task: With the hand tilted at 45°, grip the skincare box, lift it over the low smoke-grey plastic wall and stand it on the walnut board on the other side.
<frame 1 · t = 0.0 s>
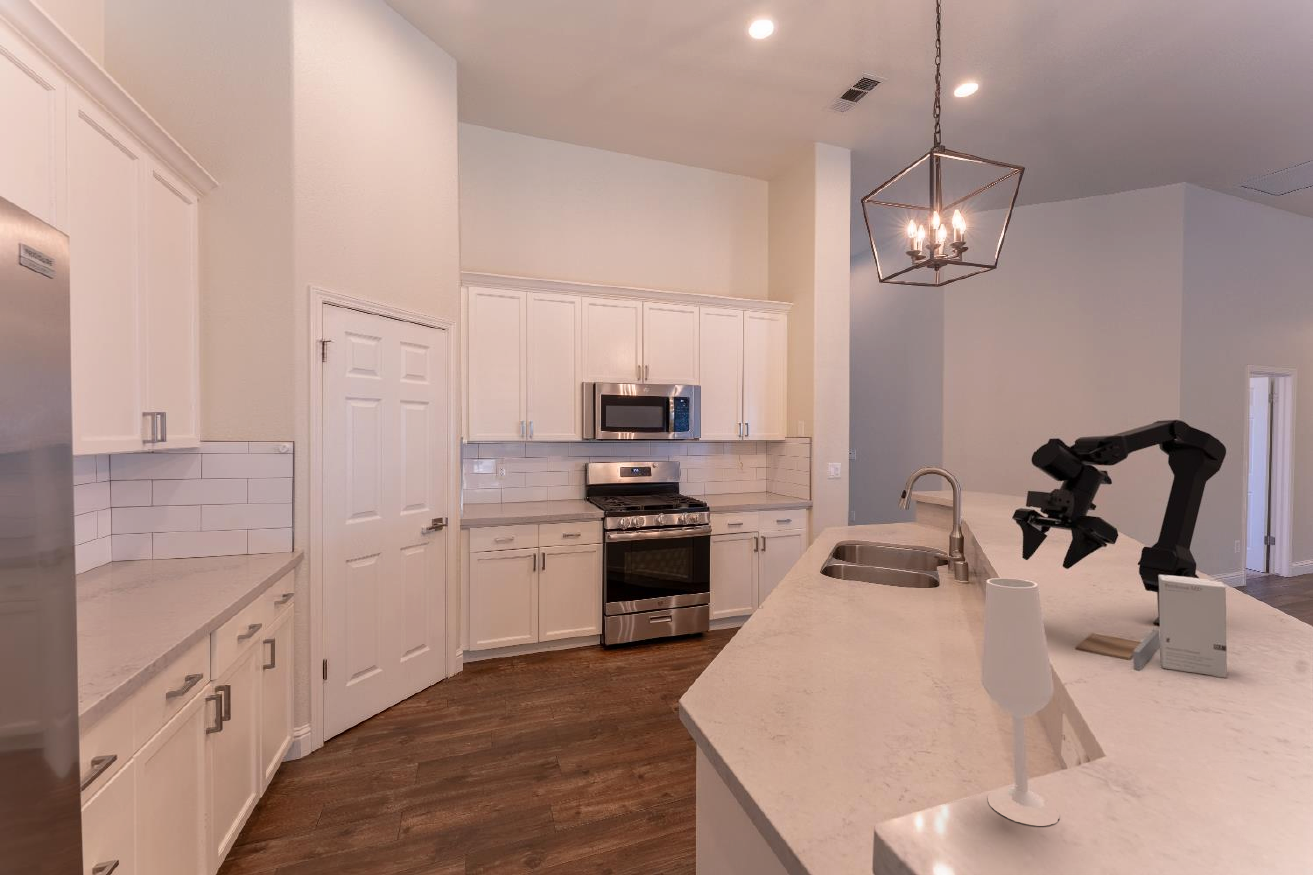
hand: (1044, 563, 114), 15 cm above the countertop, tool tilted 35°, fingers open, 9 cm apart
champagne flute: (1022, 808, 63), on the countertop
skincare box: (1193, 669, 98), on the countertop
low wall: (1147, 657, 104), on the countertop
walnut board: (1109, 646, 109), on the countertop
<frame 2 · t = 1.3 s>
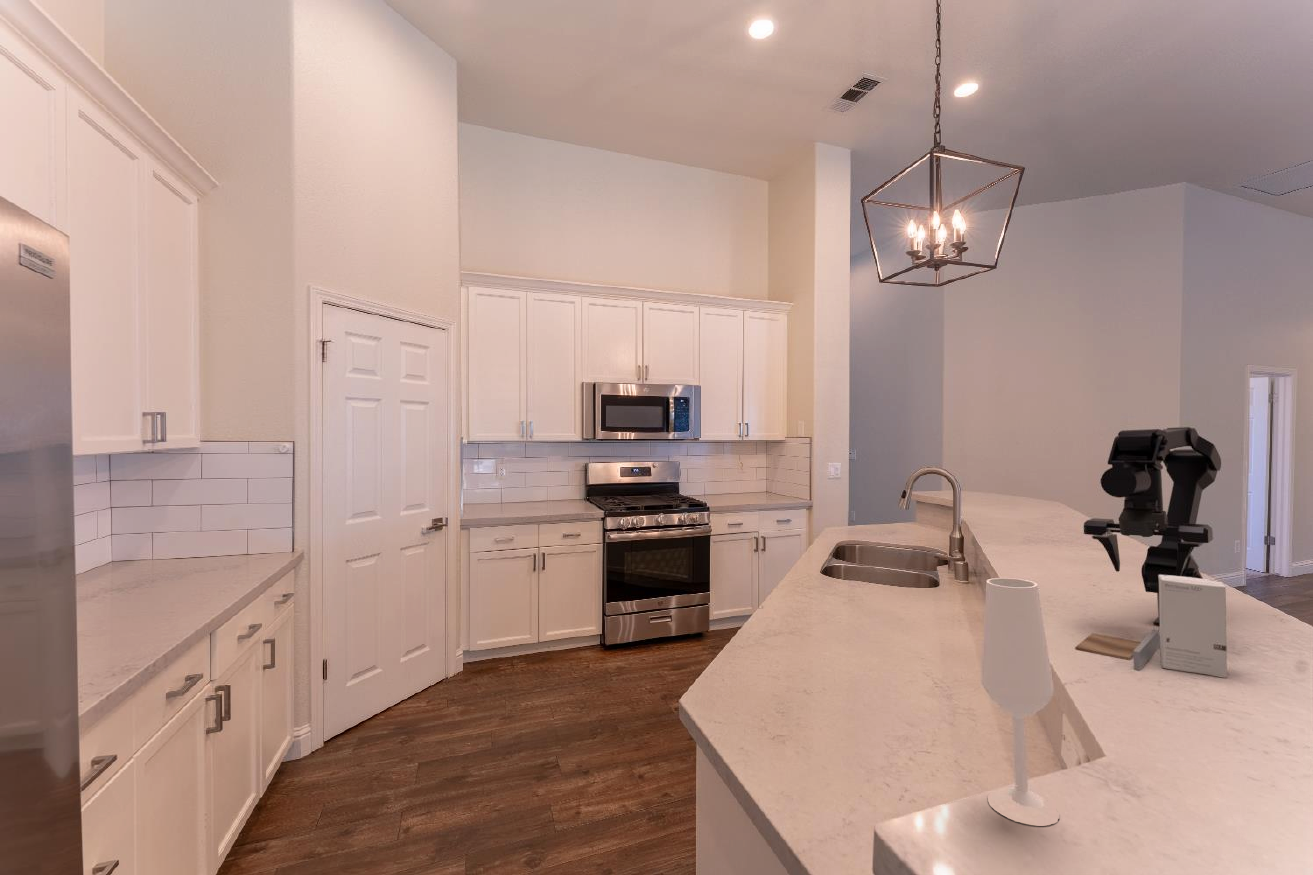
hand: (1147, 574, 114), 12 cm above the countertop, tool pointing down, fingers open, 9 cm apart
nothing on the countertop moved.
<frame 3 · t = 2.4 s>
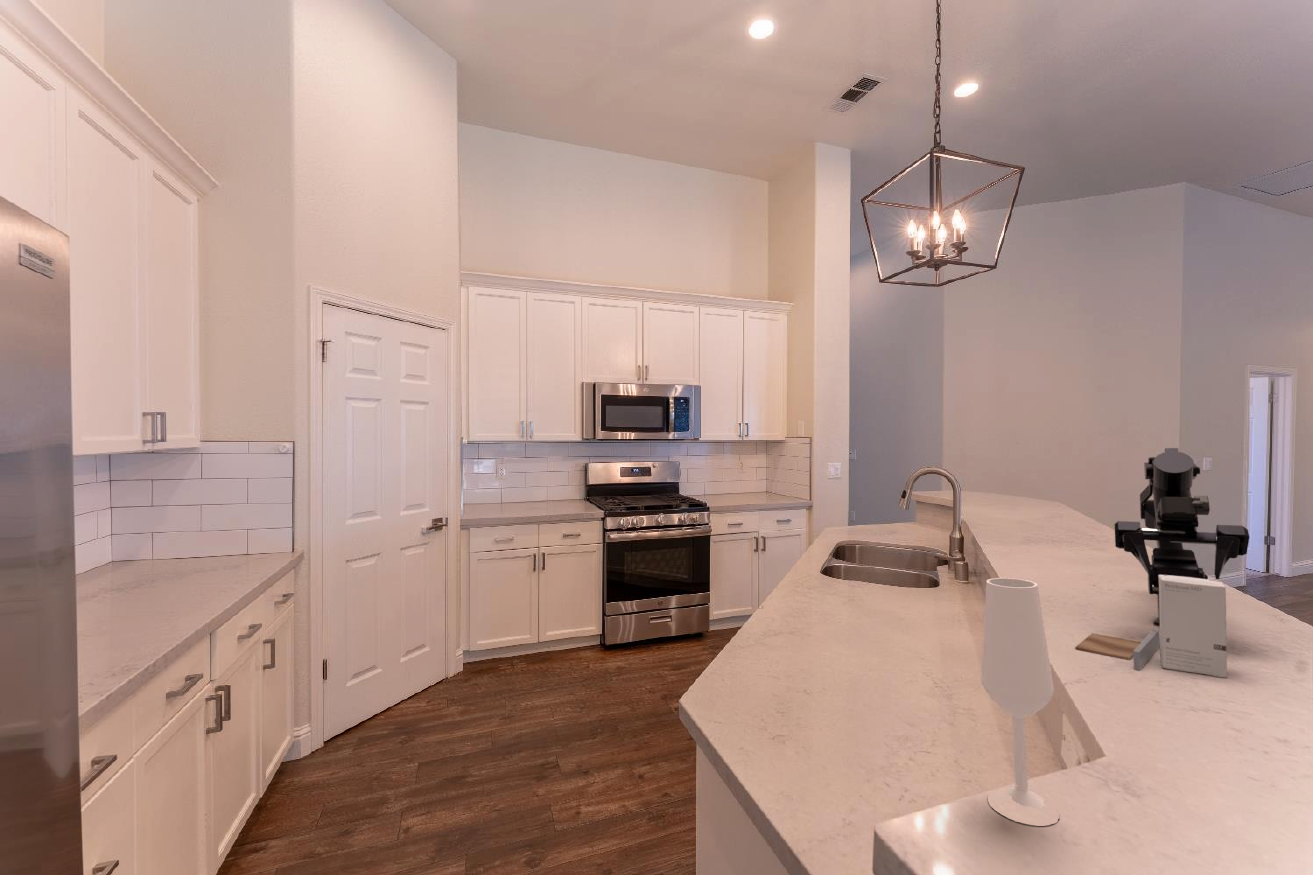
hand: (1182, 575, 106), 14 cm above the countertop, tool tilted 45°, fingers open, 9 cm apart
nothing on the countertop moved.
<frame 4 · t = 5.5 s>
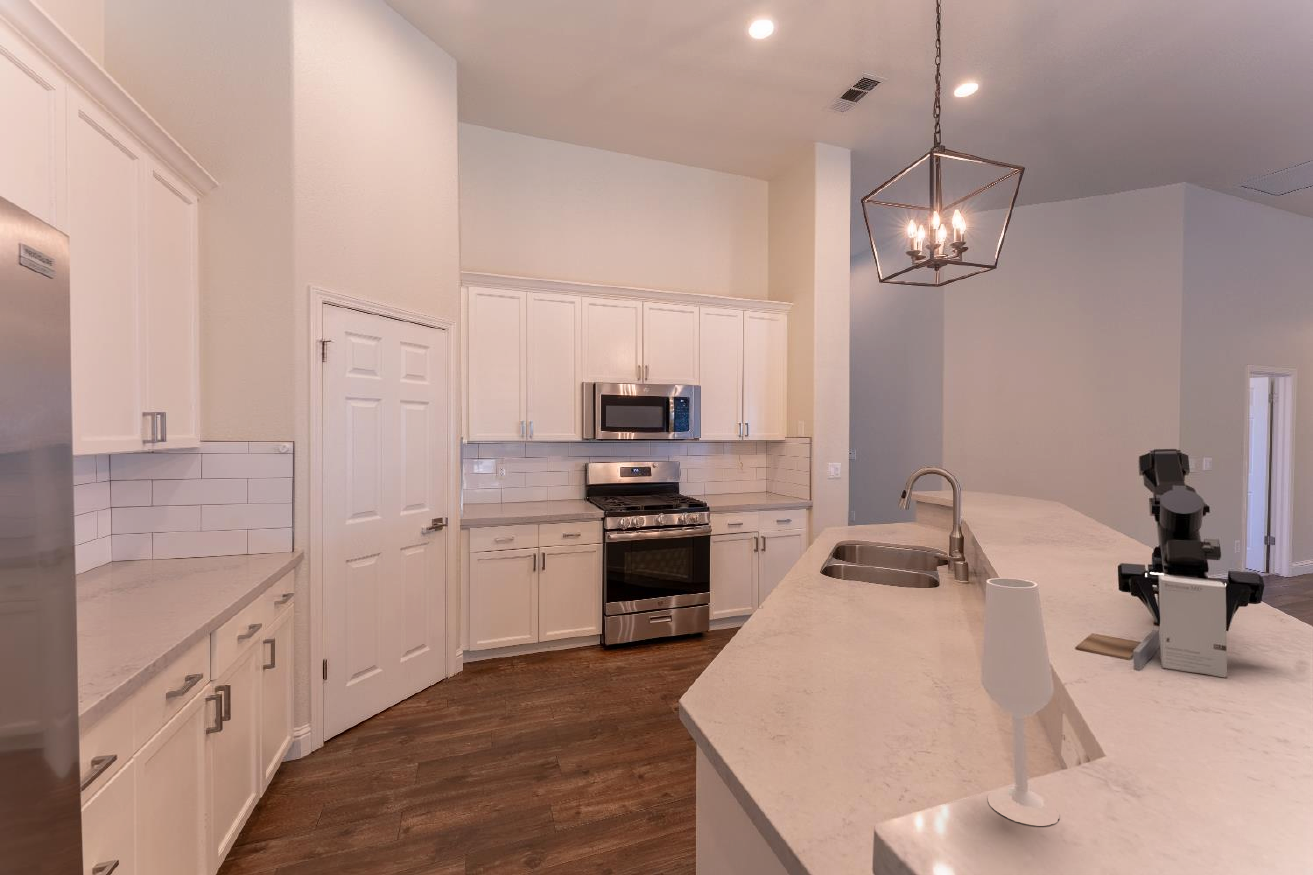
hand: (1191, 625, 98), 7 cm above the countertop, tool tilted 45°, fingers closed on skincare box, 8 cm apart
skincare box: (1193, 669, 98), on the countertop, touching gripper
everything else where it was.
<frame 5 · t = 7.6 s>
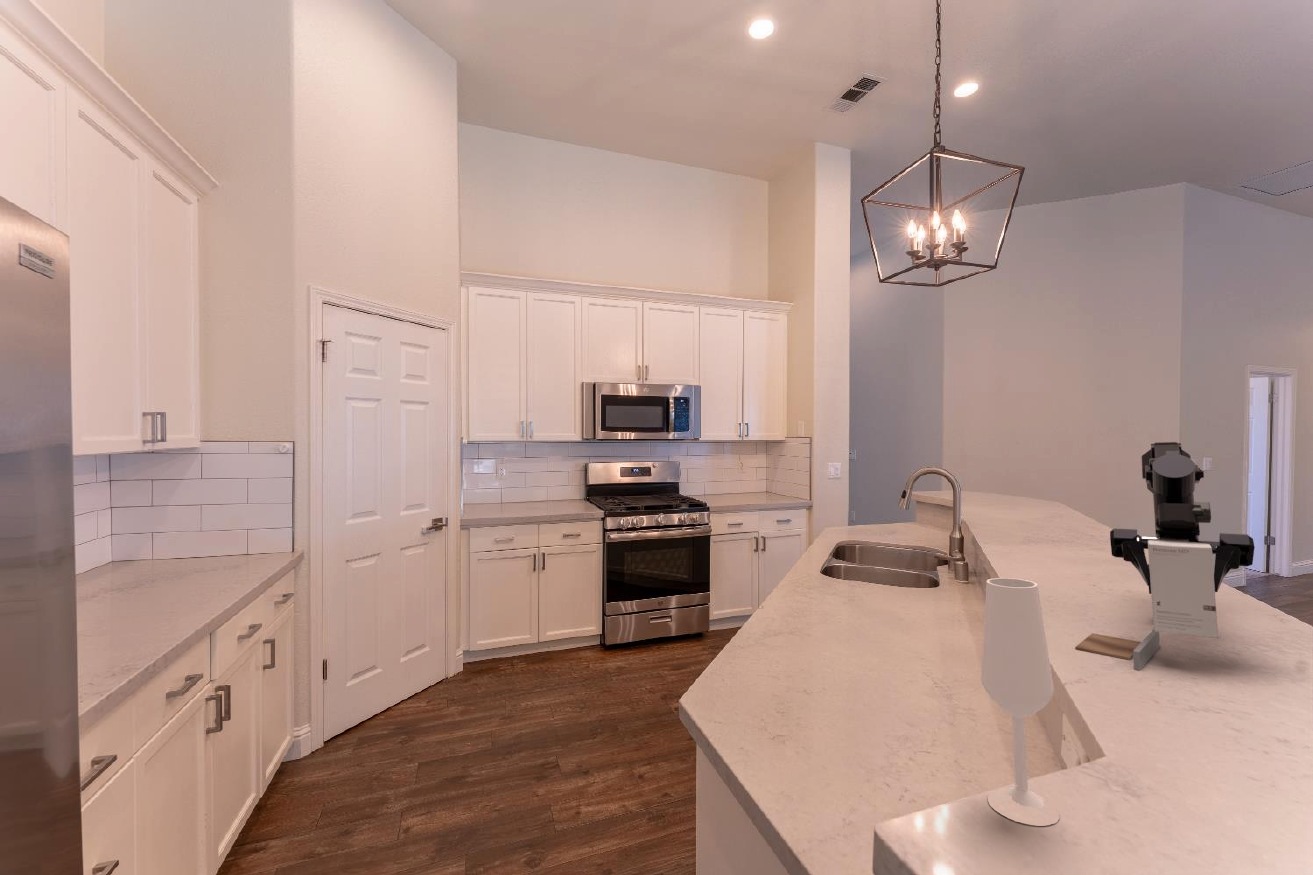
hand: (1181, 587, 99), 13 cm above the countertop, tool tilted 45°, fingers closed on skincare box, 8 cm apart
skincare box: (1186, 632, 99), point 6 cm above the countertop, touching gripper
everything else where it was.
when the fingers open (8 cm above the countertop, at t = 10.4 s): skincare box stays where it is, resting on walnut board.
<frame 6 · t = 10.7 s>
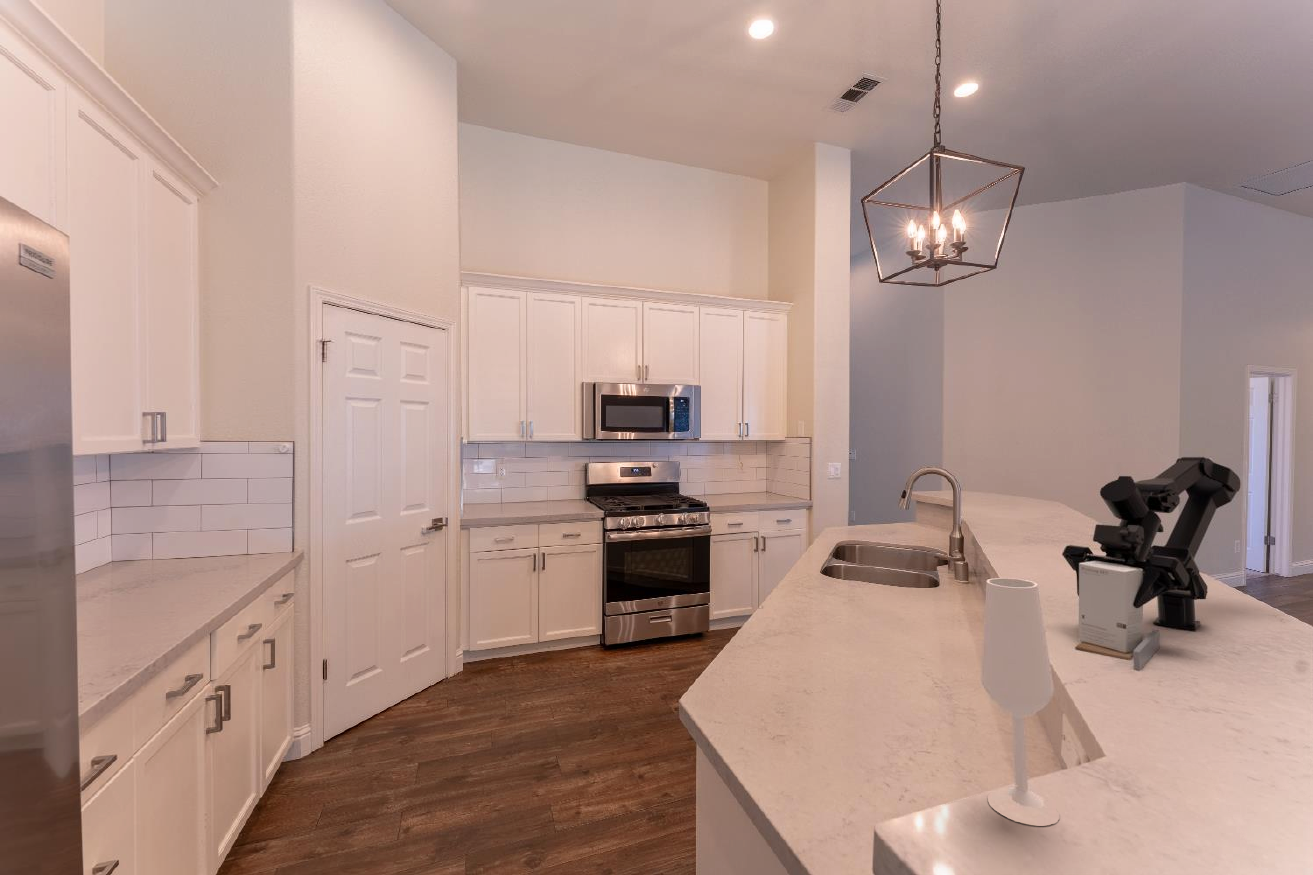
hand: (1106, 601, 109), 8 cm above the countertop, tool tilted 45°, fingers open, 9 cm apart
skincare box: (1112, 646, 109), resting on walnut board, touching gripper
everything else where it was.
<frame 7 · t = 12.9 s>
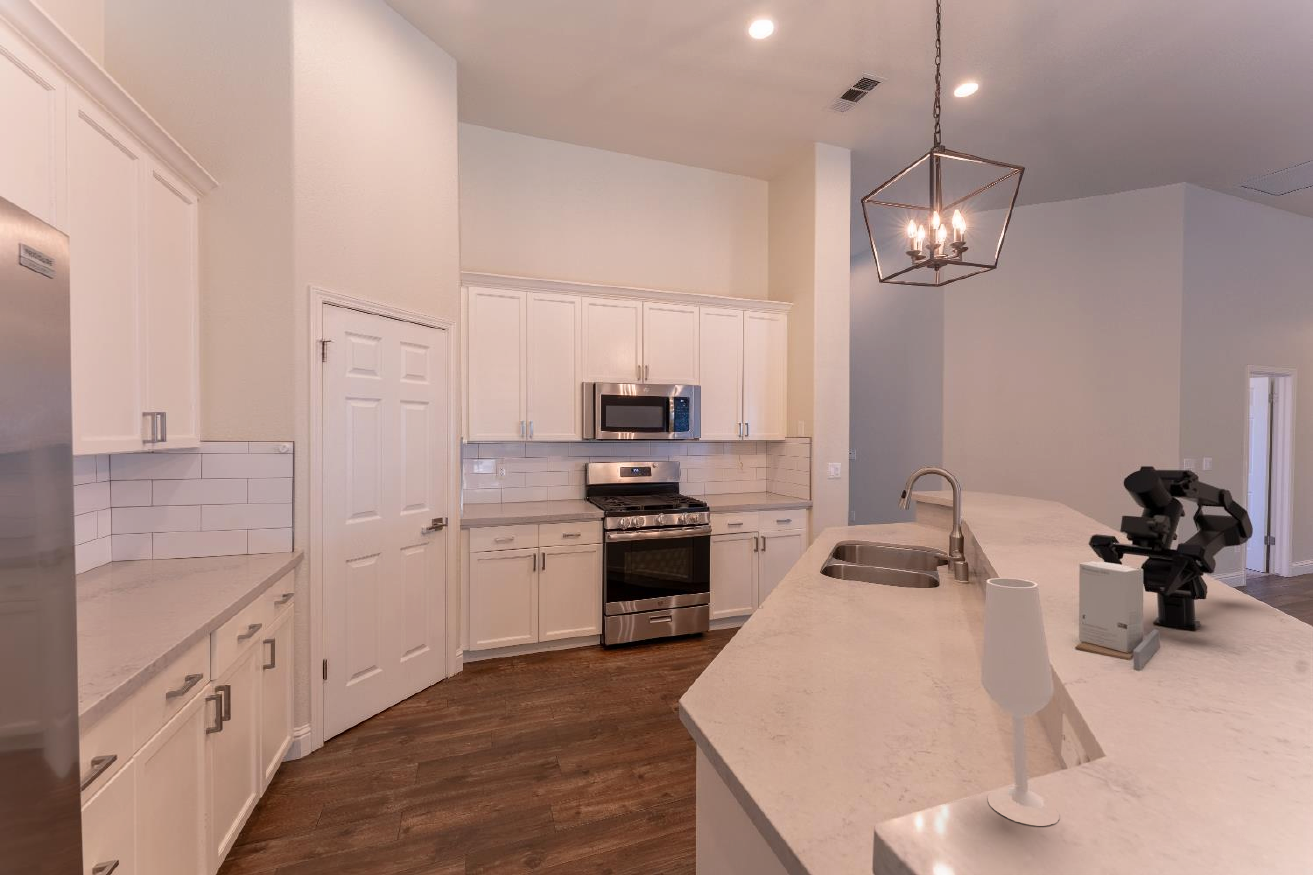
hand: (1136, 589, 114), 9 cm above the countertop, tool tilted 40°, fingers open, 9 cm apart
skincare box: (1112, 646, 109), resting on walnut board
everything else where it was.
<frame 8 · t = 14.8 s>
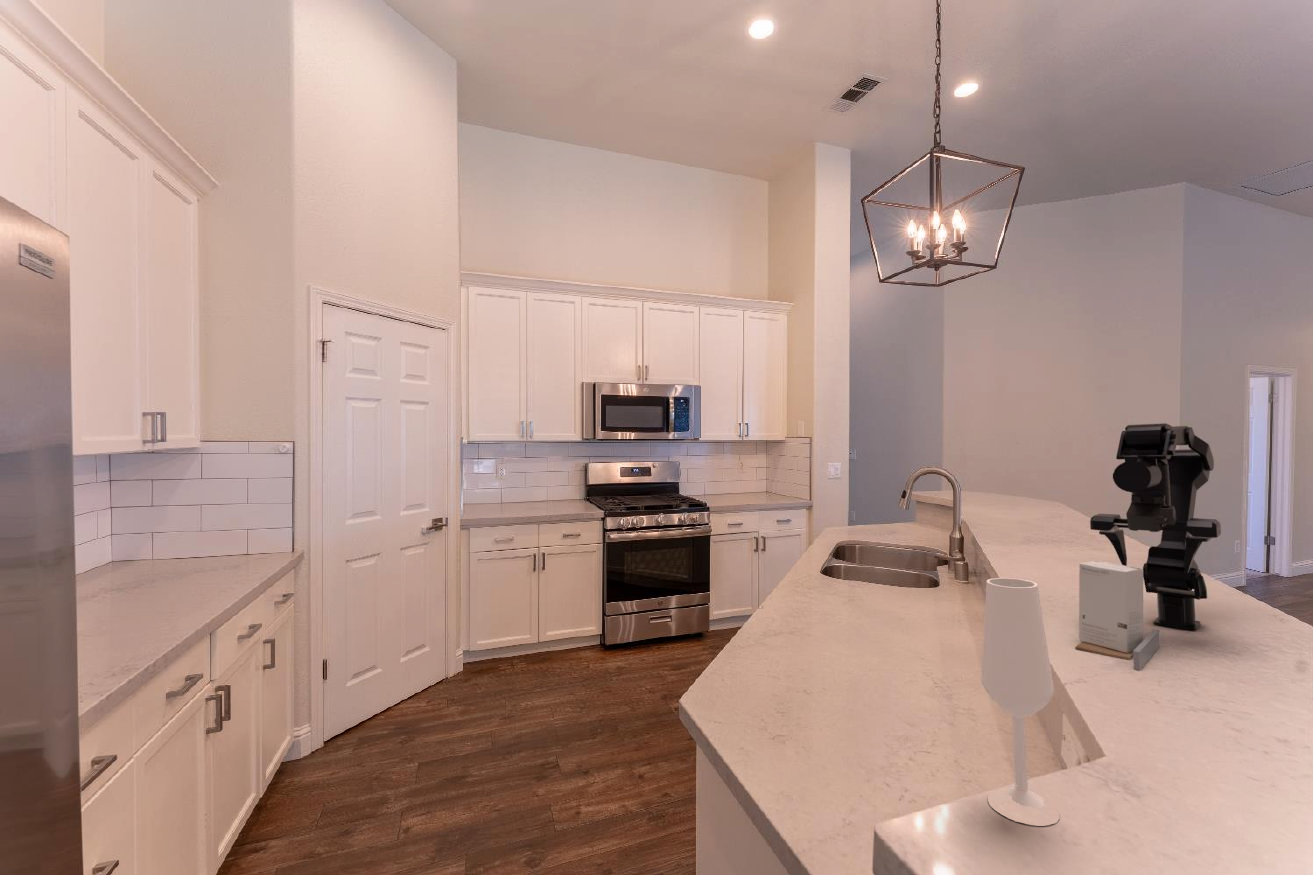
hand: (1154, 569, 114), 13 cm above the countertop, tool pointing down, fingers open, 9 cm apart
nothing on the countertop moved.
at the end: skincare box inside the target area on the walnut board (0.4 cm from its centre), point 0.2 cm above the walnut board's base; skincare box tilted 0°; the gripper is holding nothing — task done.
